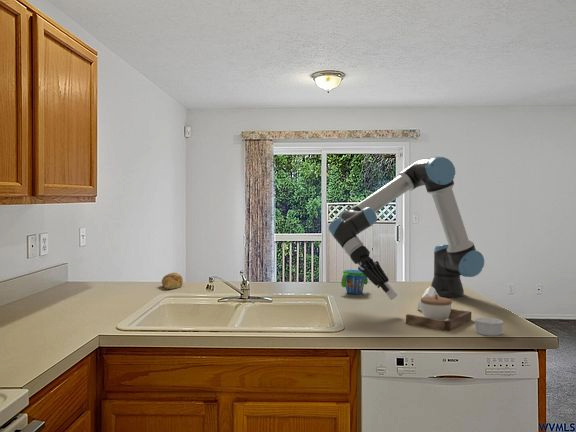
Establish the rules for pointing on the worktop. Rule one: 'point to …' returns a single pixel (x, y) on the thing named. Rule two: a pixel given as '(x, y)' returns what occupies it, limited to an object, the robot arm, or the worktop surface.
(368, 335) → the worktop surface
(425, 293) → the white rounded prism
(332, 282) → the worktop surface
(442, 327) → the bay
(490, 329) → the ramekin
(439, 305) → the lidded jar
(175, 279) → the bread loaf
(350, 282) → the snack cup
